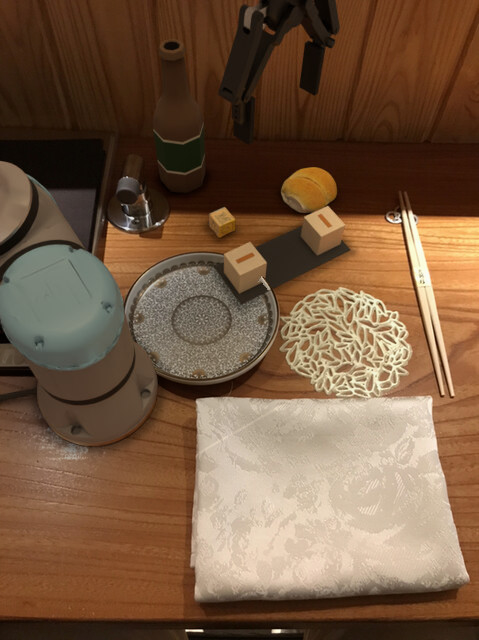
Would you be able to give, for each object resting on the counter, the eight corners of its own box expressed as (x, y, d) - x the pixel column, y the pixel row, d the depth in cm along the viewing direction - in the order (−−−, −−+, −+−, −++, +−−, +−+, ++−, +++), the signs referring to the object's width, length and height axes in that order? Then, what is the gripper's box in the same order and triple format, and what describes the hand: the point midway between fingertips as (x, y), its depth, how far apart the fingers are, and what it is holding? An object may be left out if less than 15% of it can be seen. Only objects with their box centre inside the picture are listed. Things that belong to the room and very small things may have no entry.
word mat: (241, 306, 82) (241, 304, 81) (213, 268, 85) (213, 266, 85) (350, 251, 88) (351, 250, 87) (320, 218, 91) (321, 216, 91)
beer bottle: (215, 174, 96) (212, 40, 75) (188, 202, 92) (178, 69, 72) (177, 156, 98) (165, 21, 78) (150, 183, 94) (130, 49, 74)
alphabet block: (224, 219, 90) (224, 205, 88) (235, 231, 89) (235, 218, 87) (208, 227, 90) (208, 213, 87) (219, 239, 88) (219, 226, 86)
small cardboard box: (239, 293, 82) (240, 275, 78) (223, 272, 84) (223, 253, 80) (265, 281, 84) (267, 262, 80) (249, 260, 86) (250, 241, 82)
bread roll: (344, 193, 94) (348, 175, 91) (310, 222, 91) (313, 205, 87) (306, 169, 97) (309, 150, 94) (271, 196, 93) (273, 178, 90)
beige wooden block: (317, 255, 86) (321, 236, 83) (300, 236, 88) (303, 216, 85) (340, 244, 88) (345, 224, 84) (323, 225, 90) (328, 205, 86)
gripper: (239, -1, 50) (235, 176, 68) (393, -92, 61) (354, 83, 78) (180, -32, 53) (191, 147, 71) (337, -114, 63) (312, 60, 81)
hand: (277, 114), depth 75 cm, fingers open, 13 cm apart
